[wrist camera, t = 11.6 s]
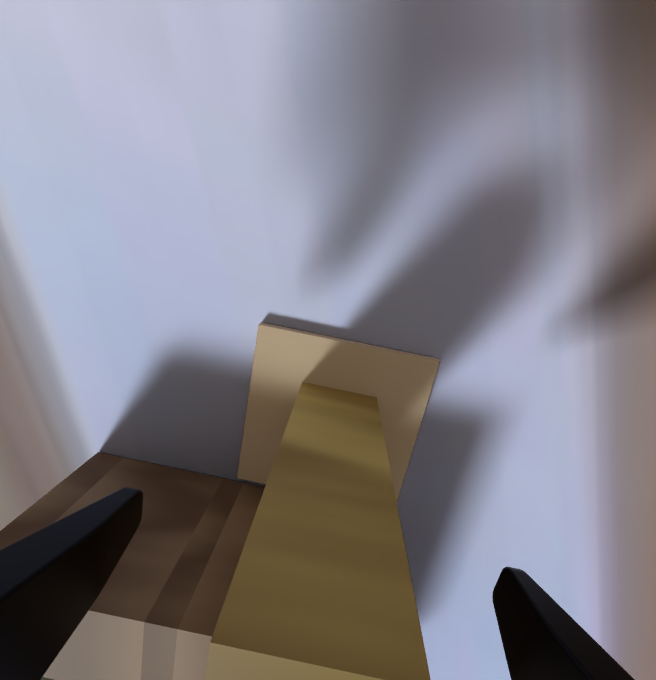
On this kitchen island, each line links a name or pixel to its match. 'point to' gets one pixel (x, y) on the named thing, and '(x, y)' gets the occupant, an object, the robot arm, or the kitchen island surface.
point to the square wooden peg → (323, 559)
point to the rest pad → (334, 372)
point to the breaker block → (151, 569)
